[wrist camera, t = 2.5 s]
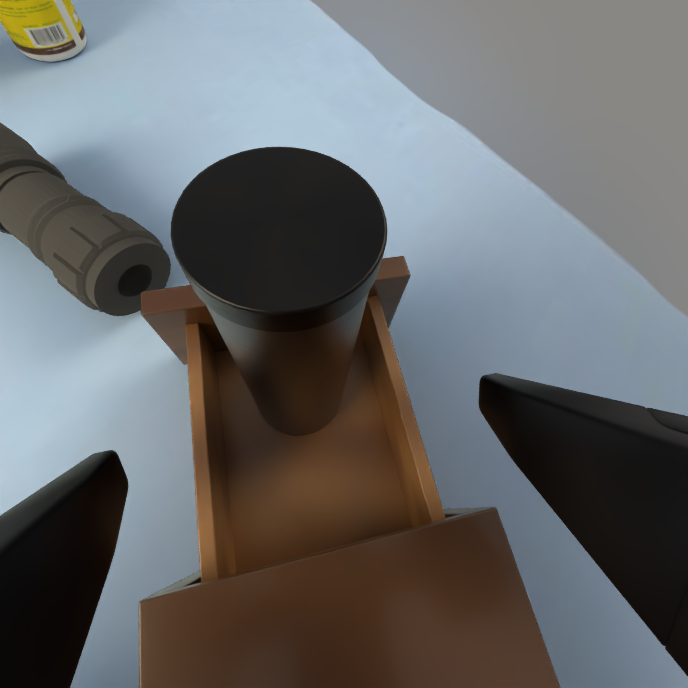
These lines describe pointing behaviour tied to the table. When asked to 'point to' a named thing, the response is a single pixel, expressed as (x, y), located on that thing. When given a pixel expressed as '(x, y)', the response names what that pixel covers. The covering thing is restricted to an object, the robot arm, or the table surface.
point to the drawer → (297, 444)
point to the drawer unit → (356, 617)
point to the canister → (283, 272)
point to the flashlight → (76, 233)
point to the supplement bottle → (43, 28)
